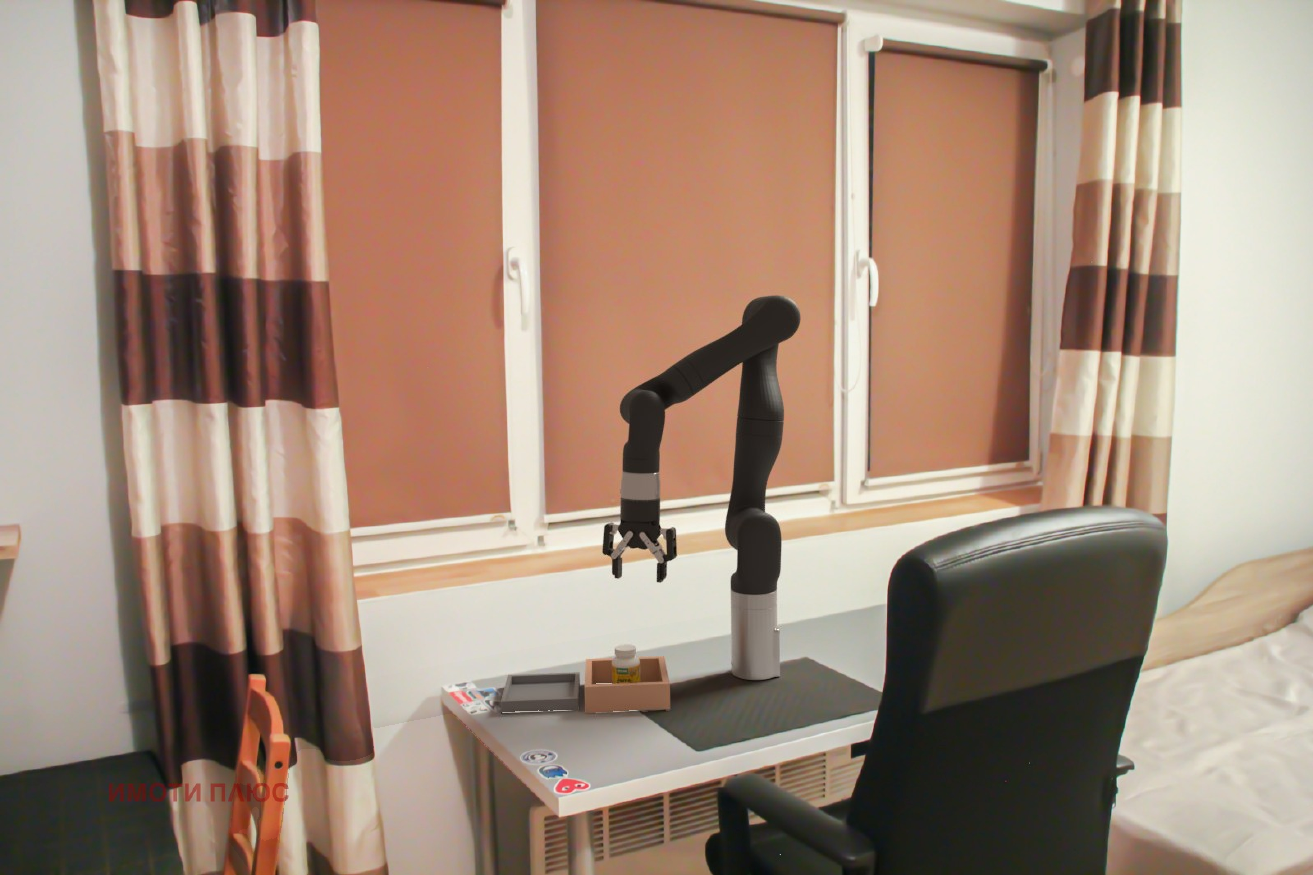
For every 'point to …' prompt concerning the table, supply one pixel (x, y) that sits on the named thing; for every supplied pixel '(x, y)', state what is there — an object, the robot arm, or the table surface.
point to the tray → (541, 692)
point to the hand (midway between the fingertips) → (638, 579)
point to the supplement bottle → (625, 665)
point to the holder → (626, 687)
